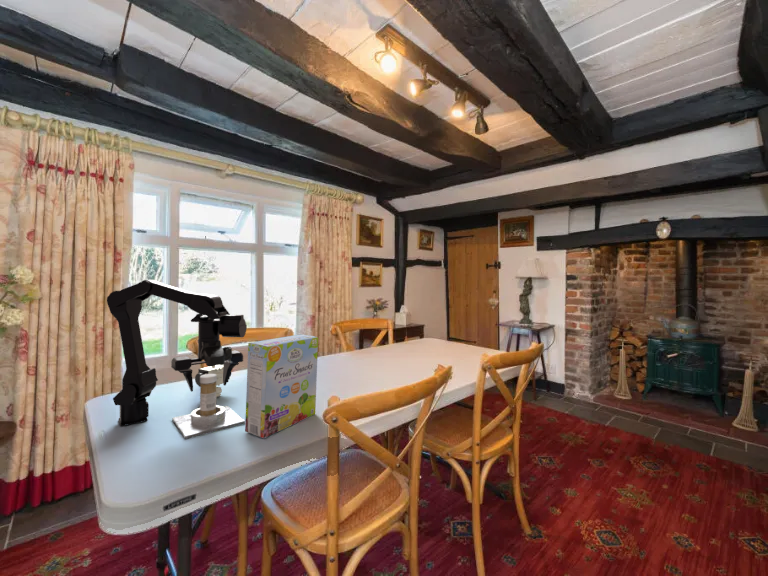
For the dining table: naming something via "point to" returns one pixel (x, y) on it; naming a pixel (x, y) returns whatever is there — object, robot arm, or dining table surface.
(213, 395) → the sprinkles bottle
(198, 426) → the duct flange
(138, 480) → the dining table surface
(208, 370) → the pneumatic valve
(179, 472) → the dining table surface
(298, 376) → the snack box
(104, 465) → the dining table surface
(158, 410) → the dining table surface
